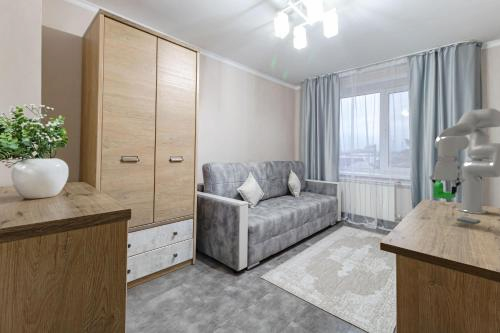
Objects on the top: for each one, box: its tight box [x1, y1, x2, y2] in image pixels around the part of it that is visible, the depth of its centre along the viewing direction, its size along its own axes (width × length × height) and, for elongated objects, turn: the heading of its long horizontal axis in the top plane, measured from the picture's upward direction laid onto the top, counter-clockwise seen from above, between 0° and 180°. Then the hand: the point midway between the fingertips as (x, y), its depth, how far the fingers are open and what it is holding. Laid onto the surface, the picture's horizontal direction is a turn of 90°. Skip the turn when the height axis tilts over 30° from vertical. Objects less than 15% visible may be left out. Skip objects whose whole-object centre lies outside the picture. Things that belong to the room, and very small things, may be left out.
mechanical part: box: [433, 181, 457, 200], centre depth 123 cm, size 12×6×8 cm, turn 119°
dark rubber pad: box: [456, 216, 481, 225], centre depth 123 cm, size 8×7×1 cm
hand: (445, 192), depth 123 cm, fingers closed on mechanical part, 6 cm apart
